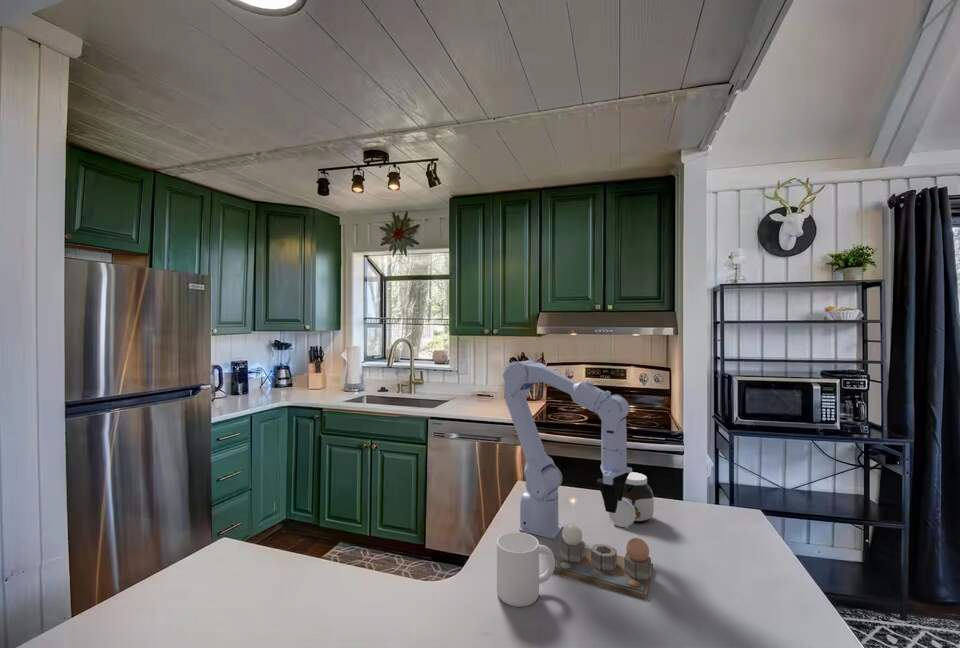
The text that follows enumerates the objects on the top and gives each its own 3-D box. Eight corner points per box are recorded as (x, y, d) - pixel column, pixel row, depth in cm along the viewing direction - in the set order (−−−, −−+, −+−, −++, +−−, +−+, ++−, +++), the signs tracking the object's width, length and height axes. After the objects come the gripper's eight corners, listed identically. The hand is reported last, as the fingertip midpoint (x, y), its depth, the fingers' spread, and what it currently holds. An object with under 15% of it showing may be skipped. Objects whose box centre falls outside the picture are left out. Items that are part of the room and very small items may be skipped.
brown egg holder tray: (551, 572, 91) (551, 553, 91) (567, 547, 102) (567, 530, 102) (646, 599, 82) (646, 578, 82) (653, 568, 93) (653, 550, 93)
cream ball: (559, 546, 95) (559, 526, 95) (565, 538, 99) (565, 518, 99) (579, 551, 93) (579, 531, 93) (584, 542, 97) (584, 522, 97)
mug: (546, 577, 90) (546, 527, 90) (564, 601, 82) (563, 547, 82) (491, 585, 87) (491, 534, 87) (504, 611, 79) (504, 555, 79)
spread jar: (651, 514, 120) (650, 472, 120) (658, 533, 109) (658, 487, 109) (606, 510, 123) (606, 469, 123) (609, 528, 112) (609, 483, 112)
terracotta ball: (624, 563, 89) (624, 541, 89) (628, 552, 93) (628, 532, 93) (647, 568, 87) (647, 546, 87) (650, 558, 91) (650, 536, 91)
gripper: (626, 458, 93) (626, 521, 92) (636, 442, 105) (636, 498, 105) (593, 453, 96) (593, 514, 96) (607, 439, 109) (607, 492, 109)
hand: (614, 505), depth 101 cm, fingers open, 7 cm apart
